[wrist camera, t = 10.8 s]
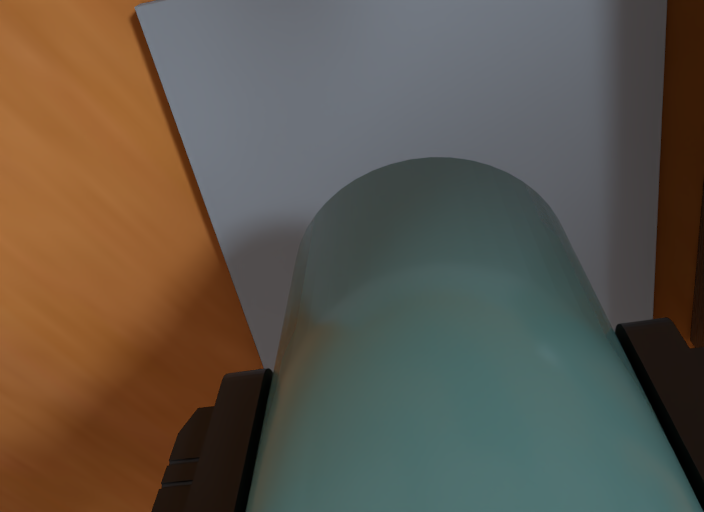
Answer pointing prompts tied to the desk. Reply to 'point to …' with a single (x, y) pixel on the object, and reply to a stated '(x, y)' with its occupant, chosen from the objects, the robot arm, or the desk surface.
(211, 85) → the slate grey mat
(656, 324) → the robot arm
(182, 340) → the desk surface
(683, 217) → the desk surface
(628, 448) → the glazed jug
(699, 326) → the dark grey rectangular frame
